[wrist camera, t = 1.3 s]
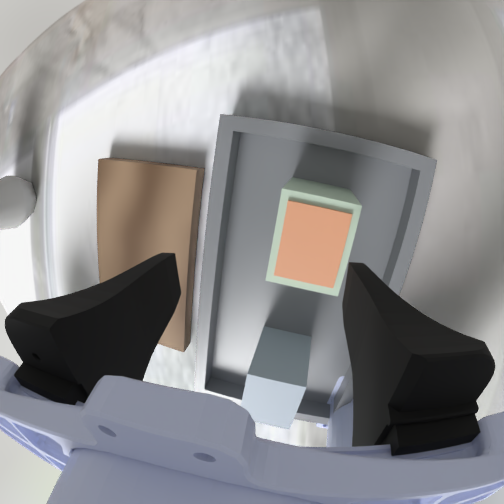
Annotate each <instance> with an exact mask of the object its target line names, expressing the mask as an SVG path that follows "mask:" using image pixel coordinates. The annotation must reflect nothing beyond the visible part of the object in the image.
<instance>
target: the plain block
mask: <svg viewBox="0 0 504 504" xmlns="http://www.w3.org/2000/svg"><path fill="white" fill-rule="evenodd" d="M311 338H312V337H311V336H306V335H301V334H297V333H292V332H288V331H283V330H279V329H275V328H270V327H266V326H264V327H263V330H262V333H261V336H260V339H259V342H258V345H257V348H256V350H255V353H254V356H253V359H252V362H251V365H250V368H249V370H248V373H247V378H246V383H245V387H244V392H243V397H242V402H241V407H243V408H244V409H246V410H247V411H248V412H249V413H250V415H251V417H252V419H253V420H254V422H257V423H262V424H266V425H270V426H275V427H280V428H284V429H290V427H291V424H292V422H293V420H294V417H295V415H296V412H297V410H298V407H299V405H300V402H301V400H302V397H303V395H304V392H305V390H306V387H307V378H308V369H309V359H310V349H311Z"/></svg>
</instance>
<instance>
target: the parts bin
mask: <svg viewBox="0 0 504 504" xmlns="http://www.w3.org/2000/svg"><path fill="white" fill-rule="evenodd" d="M436 162H437V160H435V159H432V158H429V157H426V156H423V155H420V154H417V153H414V152H411V151H407V150H404V149H401V148H397V147H394V146H390V145H387V144H383V143H379V142H375V141H372V140H368V139H364V138H360V137H355V136H351V135H347V134H342V133H338V132H333V131H329V130H324V129H319V128H314V127H308V126H303V125H297V124H292V123H285V122H279V121H273V120H266V119H258V118H251V117H242V116H233V115H224V114H220V120H219V127H218V134H217V141H216V149H215V156H214V164H213V171H212V179H211V188H210V196H209V205H208V214H207V223H206V232H205V242H204V253H203V263H202V275H201V286H200V299H199V312H198V327H197V343H196V361H195V382H194V391H195V392H201V393H208V394H212V395H215V396H219V397H222V398H226V399H230V400H232V401H233V402H235V403H236V404H238V405H240V406H241V402H242V397H243V392H244V387H245V383H246V378H247V373H248V370H249V368H250V365H251V362H252V359H253V356H254V353H255V350H256V348H257V345H258V342H259V339H260V336H261V333H262V330H263V327H264V326H266V327H270V328H275V329H279V330H283V331H288V332H292V333H297V334H301V335H306V336H311V337H312V338H311V349H310V359H309V369H308V378H307V387H306V390H305V392H304V395H303V397H302V400H301V402H300V405H299V407H298V410H297V412H296V415H295V417H294V419H297V420H302V421H308V422H314V423H320V424H326V425H328V421H329V419H330V404H327V402H328V400H329V398H330V396H331V394H332V391H333V389H334V387H335V385H336V383H337V380H338V379H339V377H341V376H344V377H343V381H342V383H341V385H340V387H339V389H338V391H337V393H336V395H335V396H334V409H333V413H334V412H335V411H336V410H338V409H339V408H341V407H342V406H344V405H346V404H348V403H351V401H352V399H353V379H352V368H351V362H350V357H349V351H348V346H347V340H346V335H345V330H344V324H343V310H342V301H343V296H344V290H345V284H346V278H347V271H348V264H349V262H358V263H364V264H365V265H367V266H368V267H369V268H370V269H371V270H372V271H373V272H374V273H375V274H376V275H377V276H378V277H379V278H380V279H381V280H382V281H383V282H384V283H385V284H386V285H387V286H388V287H389V288H390V289H391V290H393V291H394V292H395V293H396V294H397V295H398V296H399V294H400V291H401V289H402V286H403V283H404V280H405V277H406V275H407V272H408V269H409V266H410V263H411V260H412V256H413V253H414V250H415V247H416V244H417V240H418V237H419V233H420V230H421V226H422V223H423V219H424V215H425V211H426V207H427V203H428V199H429V195H430V191H431V186H432V182H433V177H434V173H435V168H436ZM292 177H294V178H299V179H304V180H309V181H314V182H319V183H323V184H328V185H332V186H337V187H341V188H346V189H350V190H351V191H352V193H353V194H354V195H355V197H356V198H357V200H358V201H359V202H360V204H361V205H362V208H361V212H360V217H359V221H358V225H357V229H356V233H355V237H354V241H353V245H352V248H351V252H350V256H349V260H348V263H347V267H346V270H345V274H344V277H343V281H342V284H341V288H340V291H339V294H338V296H333V295H328V294H324V293H319V292H315V291H310V290H305V289H301V288H296V287H292V286H287V285H283V284H278V283H274V282H270V281H265V280H266V275H267V269H268V264H269V258H270V253H271V247H272V242H273V236H274V231H275V225H276V220H277V214H278V208H279V203H280V197H281V191H282V188H283V187H284V186H285V185H286V184H287V183H288V181H289V180H290V179H291V178H292ZM339 383H340V382H339ZM333 392H334V391H333ZM331 401H332V400H331Z"/></svg>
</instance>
